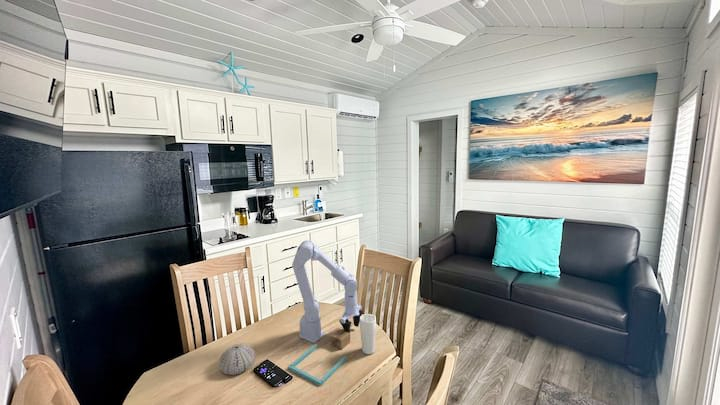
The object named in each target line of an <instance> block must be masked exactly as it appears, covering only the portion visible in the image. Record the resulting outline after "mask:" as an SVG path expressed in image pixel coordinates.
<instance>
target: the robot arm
mask: <svg viewBox="0 0 720 405" xmlns="http://www.w3.org/2000/svg"><path fill="white" fill-rule="evenodd" d="M309 260H311V262H312V261H314V262H315V261H318V262H320V263H321V264H322V265H323V266H324V267H325V268H327V269H328V270H329V271H331V273H330V275H331V276H332V277H333V278H334V279H335V281H337V282H338V283H340V285H342V286H343V288H344V312H343V314H342V316H341V317H340V318H339V324H340V325H341V326H342V330H343V331H346V332H348V333H350V334H351V327H352V326H351V325H352V323H353V326H354V327H360V317H361V316H362V315H364V314H363V313H364V311H363V310H362V304H358V283H357V278H356V277H355V275H354V274H351V273H350V272H348V271H347V270H346V267H345V266H344V265H343V266H341V264H337V265H336V264H335V263H334V262H333V261H332V260H331V259H330V257H329V256H328V255H326V254H325V253H324V251H322V250H321V249H320V247H318V245H316V244H314V243H313V242H312V241H311V240H307V239H306V240H304V241H302V242H301V243H300V245H299V246H298V247H297V249H296V253H295V255H294V258H293V261H292V264H291V265H292V269H293V273H294V276H295V278H296V282H297V285H298V288H299V292H300V294H301V298H302V302H303V310H304V314H302V316H301V317H300V319H299V335H298V337H299V338H301V339H303V340H305V341H308V342H311V343H314V344H315V343H316V342H318V341H319V340H320V339H321V338H323V336H325V335H326V332H323V331H322V321H321V314H320V305H321V304H320V303H319V302H320V301H318V300H317V299H316V296H315V295H314V293H313V290H312V286H311V282H310V279H309V276H308V273H307V270H306V267H305V264H306V263H307V262H308V261H309ZM351 318H352V319H353V322H352V321H350V320H349V319H351Z"/></svg>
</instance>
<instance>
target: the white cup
mask: <svg viewBox="0 0 720 405" xmlns="http://www.w3.org/2000/svg"><path fill="white" fill-rule="evenodd" d="M359 331H360V340H361V351H362V353H363V354H366V355H372V354H374V352H375V351H376V335H377V333H376V332H377V317H376V316H375V315H374V314H372V313H364V314H362V316H361V317H360V322H359Z"/></svg>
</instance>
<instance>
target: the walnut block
mask: <svg viewBox="0 0 720 405" xmlns="http://www.w3.org/2000/svg"><path fill="white" fill-rule="evenodd" d="M349 344H351V332H350V333H348V332H346V331H344V329H341V328H338V329H337V330H335V332H334V333H331V335H330V345H331V346H332V347H335V348H337V349H339V350H342V351H343V349H345V348H346V347H347V346H348V345H349Z"/></svg>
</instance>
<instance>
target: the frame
mask: <svg viewBox="0 0 720 405" xmlns="http://www.w3.org/2000/svg"><path fill="white" fill-rule="evenodd" d="M317 349H318V344H315V343H314V344H313V345H312V346H311V347H310V348H309V349H307V350H306V351H305V352H303V354H301V355H300V356H299V357H298V358H296V359H295V360H294V361H293V362H292V363H290V364H289V365H288V366H287V369H288V370H289V371H291V372H293V373H295V374H296V375H299V376H300V377H302V378H304V379H306V380H308V381H310V382H312V383H314V384H316V385H318V386H320V387H321V386H322V385H324V383H326V382H327V381H328V380H329V378H331V376H332V375H333V374H334V373H335V372H336V371H337V370H338V369H339V368H341V366H342V365H343V364H344V363H345V362H346V361H347V356H343V357H341V359H339V361H338V362H336V364H334V366H332V368H331V369H329V370H328V372H326V373H325V374H324V376H323V377H321V378H319V377H317V376H315V375H312V374H310V373H308V372H306V371H304V370H302V369H300V368H299V367H296V366H297V365H299V364H300V363H301V362H302V361H304V359H306V358H307V357H309V355H310V354H312V353H313V352H314V351H315V350H317Z"/></svg>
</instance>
